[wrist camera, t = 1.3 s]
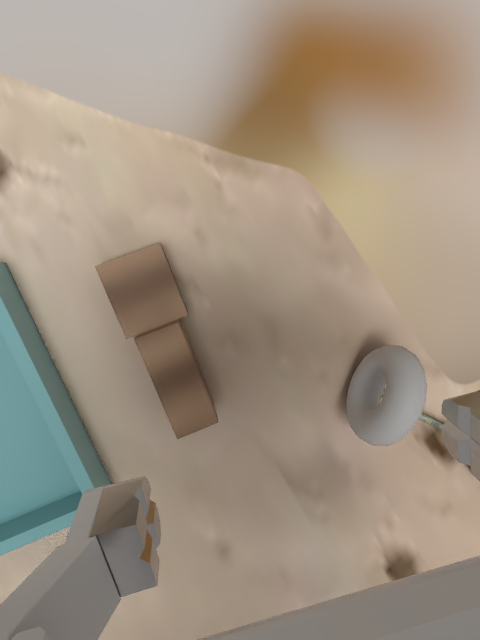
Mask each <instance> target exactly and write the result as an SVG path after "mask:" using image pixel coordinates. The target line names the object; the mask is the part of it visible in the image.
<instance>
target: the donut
mask: <svg viewBox="0 0 480 640" xmlns="http://www.w3.org/2000/svg"><path fill="white" fill-rule="evenodd" d="M385 385H386V391H385V394H384V397H383V399H382V401H381V403H380V397H381V394H382V391H383V389H384V387H385ZM426 390H427V383H426V378H425V372H424V368H423V367H422V365H421V363H420V361H419V359H418V358H417V357H416V355H415V354H413V353H412V352H410V351H409V350H407V349H406V348H404V347H402V346H395V345H386V346H382V347H380V348H377V349H375V350H373V351H372V352H371V353H369V354H368V355H367V356H366V357H364V359H363V360H362V361H361V363H360V364H359V365H358V367H357V369H356V371H355V373H354V375H353V377H352V379H351V382H350V385H349V388H348V394H347V401H346V405H347V416H348V419H349V423H350V426H351V428H352V429H353V431H354V432H355V434H356V435H357V436H358V437H359V438H360V439H362V440H363V441H365V442H367V443H369V444H371V445H374V446H388V445H392V444H394V443H396V442H398V441H400V440H402V439H403V438H404V437H405V436H406V435H407V434H408V433H409V432H410V431H411V430H412V429H413V428H414V427H415V425H416V423H417V421H418V420H419V418H420V416H421V414H422V411H423V408H424V404H425V401H426Z"/></svg>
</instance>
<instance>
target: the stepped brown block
mask: <svg viewBox="0 0 480 640" xmlns="http://www.w3.org/2000/svg"><path fill="white" fill-rule="evenodd" d="M95 268H96V270H97V272H98V275H99V277H100V279H101V281H102V284H103V286H104V288H105V291H106V293H107V295H108V298H109V300H110V302H111V304H112V307H113V309H114V311H115V314H116V316H117V318H118V321H119V323H120V325H121V327H122V330H123V332H124V334H125V337H126V339H128V338H131V337H133V336H136V335H137V336H136V337H135V339H134V340H135V342H136V344H137V346H138V349H139V351H140V353H141V356H142V358H143V360H144V363H145V365H146V367H147V370H148V372H149V374H150V377H151V379H152V381H153V384H154V386H155V388H156V391H157V393H158V395H159V398H160V400H161V402H162V405H163V407H164V409H165V411H166V414H167V416H168V418H169V421H170V423H171V425H172V428H173V430H174V432H175V435H176V437H177V439H179V438H181V437H184V436H186V435H189V434H191V433H193V432H196V431H198V430H201V429H203V428H205V427H208V426H210V425H213V424H215V423H217V422H218V419H217V415H216V411H215V406H214V403H213V400H212V398H211V395H210V393H209V390H208V388H207V385H206V383H205V380H204V378H203V375H202V373H201V370H200V368H199V365H198V363H197V360H196V358H195V355H194V353H193V350H192V348H191V345H190V343H189V340H188V338H187V336H186V333H185V331H184V328H183V326H182V323H181V321H180V318H183V317H185V316H188V311H187V309H186V306H185V304H184V301H183V298H182V296H181V293H180V291H179V288H178V286H177V283H176V281H175V278H174V276H173V273H172V271H171V268H170V266H169V263H168V261H167V258H166V256H165V253H164V251H163V248H162V245H161V244H160V243H158V244H155V245H153V246H150V247H147V248H144V249H142V250H139V251H136V252H133V253H131V254H128V255H125V256H122V257H119V258H117V259H114V260H111V261H108V262H106V263H103V264H100V265H97V266H95Z"/></svg>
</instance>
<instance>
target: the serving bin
mask: <svg viewBox="0 0 480 640" xmlns="http://www.w3.org/2000/svg"><path fill="white" fill-rule="evenodd" d="M110 484H112V483H111V481H110V479H109V477H108V475H107V473H106V471H105V469H104V467H103V465H102V462H101V460H100V458H99V456H98V454H97V452H96V450H95V448H94V446H93V444H92V442H91V440H90V437H89V435H88V433H87V431H86V429H85V427H84V425H83V423H82V421H81V419H80V417H79V415H78V412H77V410H76V408H75V406H74V404H73V402H72V400H71V398H70V396H69V394H68V392H67V390H66V387H65V385H64V383H63V381H62V379H61V377H60V375H59V373H58V371H57V369H56V367H55V364H54V362H53V360H52V358H51V356H50V354H49V352H48V350H47V348H46V346H45V344H44V342H43V339H42V337H41V335H40V333H39V331H38V329H37V327H36V325H35V323H34V321H33V319H32V317H31V314H30V312H29V310H28V308H27V306H26V304H25V302H24V300H23V298H22V296H21V294H20V292H19V289H18V287H17V285H16V283H15V281H14V279H13V277H12V275H11V273H10V271H9V269H8V266H7V264H6V263H0V556H1V555H3V554H5V553H8V552H10V551H12V550H15V549H17V548H19V547H22V546H24V545H26V544H29V543H31V542H33V541H36V540H38V539H40V538H43V537H45V536H47V535H50V534H52V533H54V532H57V531H59V530H61V529H64V528H66V527H68V526H71V525H72V522H73V519H74V517H75V514H76V511H77V508H78V505H79V502H80V499H81V497H82V494H83V493H84V492H85V491H86V490H90V489H94V488H98V487H102V486H106V485H110Z"/></svg>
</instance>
